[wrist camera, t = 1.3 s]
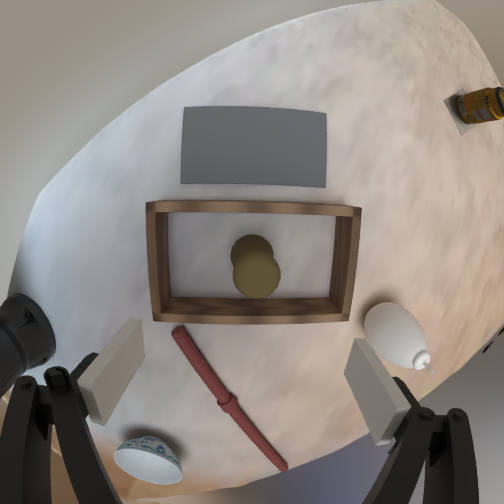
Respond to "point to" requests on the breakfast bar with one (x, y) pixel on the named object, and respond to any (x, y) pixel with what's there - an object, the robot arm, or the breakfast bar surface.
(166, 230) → the wooden box
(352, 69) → the breakfast bar surface
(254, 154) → the charcoal mat
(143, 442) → the chinaware
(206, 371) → the red rod with collar
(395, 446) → the robot arm
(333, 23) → the breakfast bar surface
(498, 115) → the condiment
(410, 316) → the white bulb air blower
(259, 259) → the olive dumbbell shape
